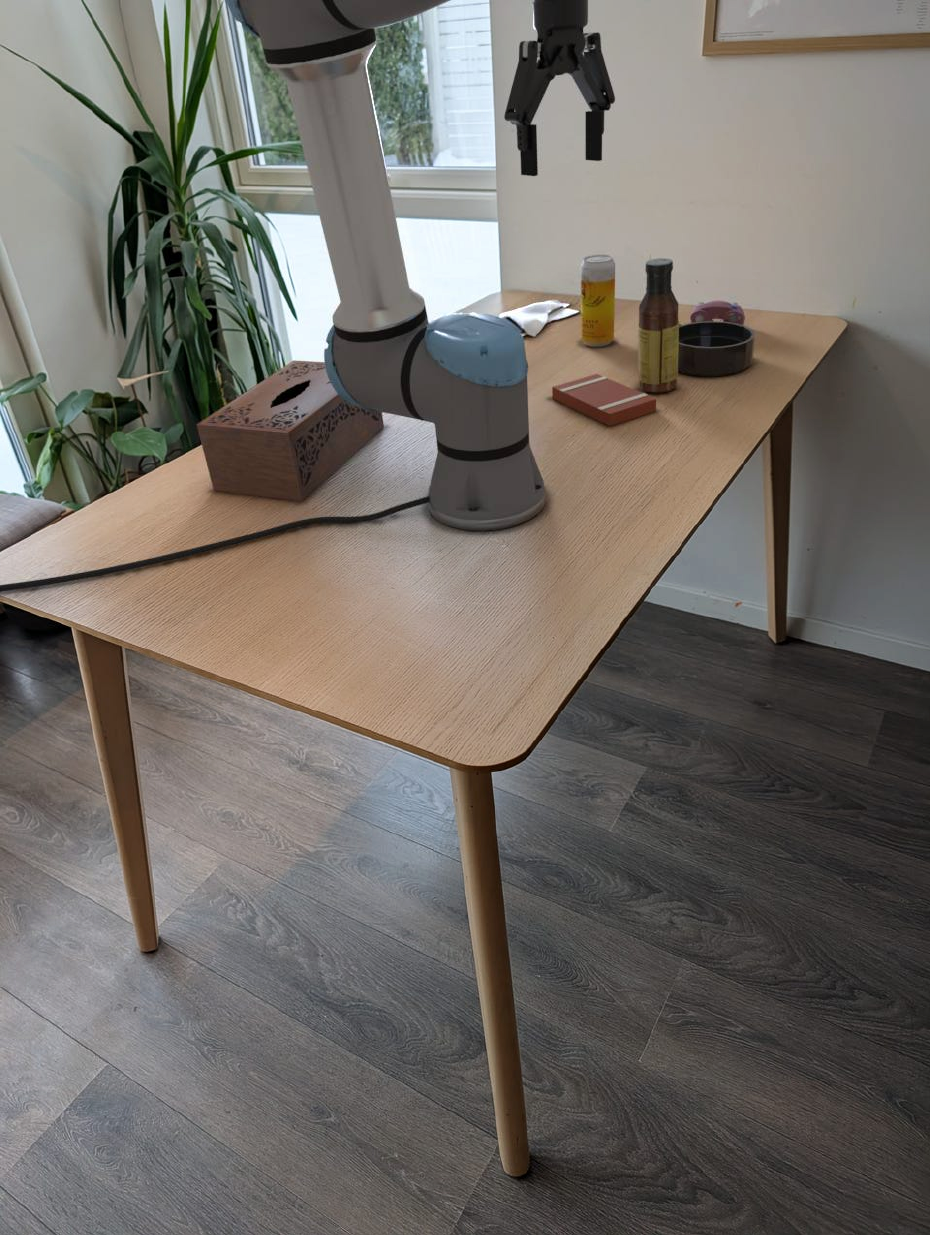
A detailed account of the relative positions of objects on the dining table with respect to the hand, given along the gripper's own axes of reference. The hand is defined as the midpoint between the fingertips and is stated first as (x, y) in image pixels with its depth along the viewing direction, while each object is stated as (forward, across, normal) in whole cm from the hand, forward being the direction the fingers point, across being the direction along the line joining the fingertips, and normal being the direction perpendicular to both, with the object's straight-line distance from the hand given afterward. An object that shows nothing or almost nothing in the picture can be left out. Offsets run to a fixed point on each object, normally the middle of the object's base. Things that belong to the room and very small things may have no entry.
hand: (562, 167), depth 133 cm
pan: (+33, +21, -14) cm, 41 cm away
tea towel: (+33, -4, -12) cm, 35 cm away
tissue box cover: (+33, -47, +8) cm, 58 cm away
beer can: (+33, +18, +9) cm, 38 cm away
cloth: (+33, +20, +29) cm, 48 cm away
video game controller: (+33, +36, -4) cm, 49 cm away
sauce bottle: (+33, +7, -14) cm, 36 cm away
